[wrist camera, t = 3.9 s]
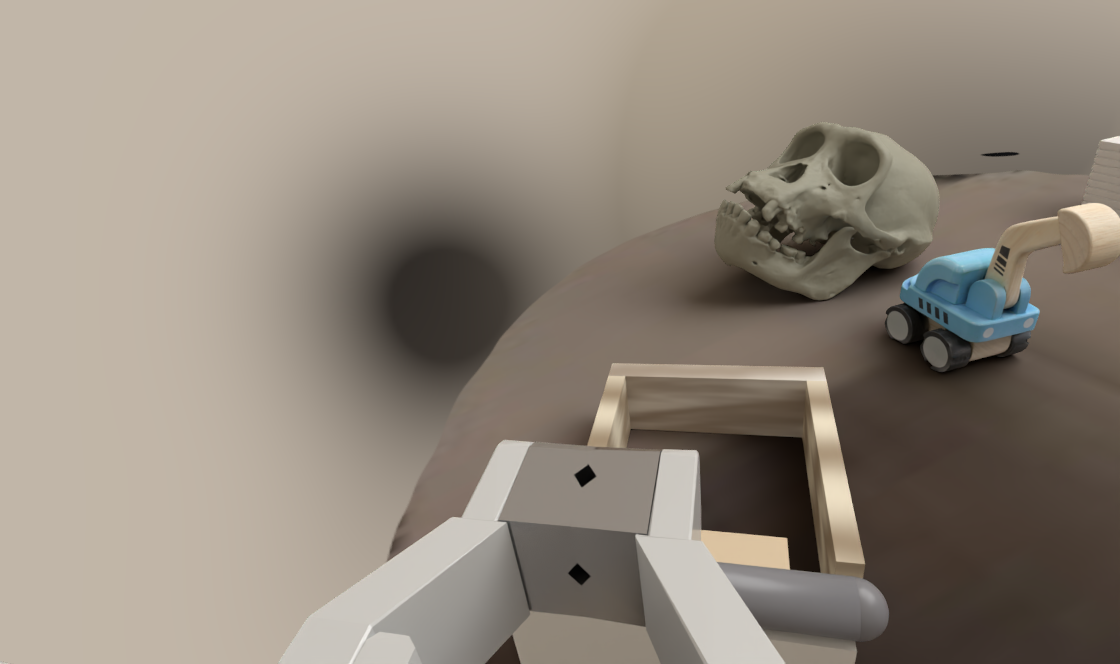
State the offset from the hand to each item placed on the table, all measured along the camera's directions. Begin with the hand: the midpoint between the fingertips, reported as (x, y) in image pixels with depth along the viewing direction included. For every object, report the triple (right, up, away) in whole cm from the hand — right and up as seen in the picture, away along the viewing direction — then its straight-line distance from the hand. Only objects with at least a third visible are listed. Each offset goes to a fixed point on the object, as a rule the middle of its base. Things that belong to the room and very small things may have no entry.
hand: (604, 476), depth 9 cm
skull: (+33, +10, +70) cm, 78 cm away
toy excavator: (+39, -1, +49) cm, 63 cm away
